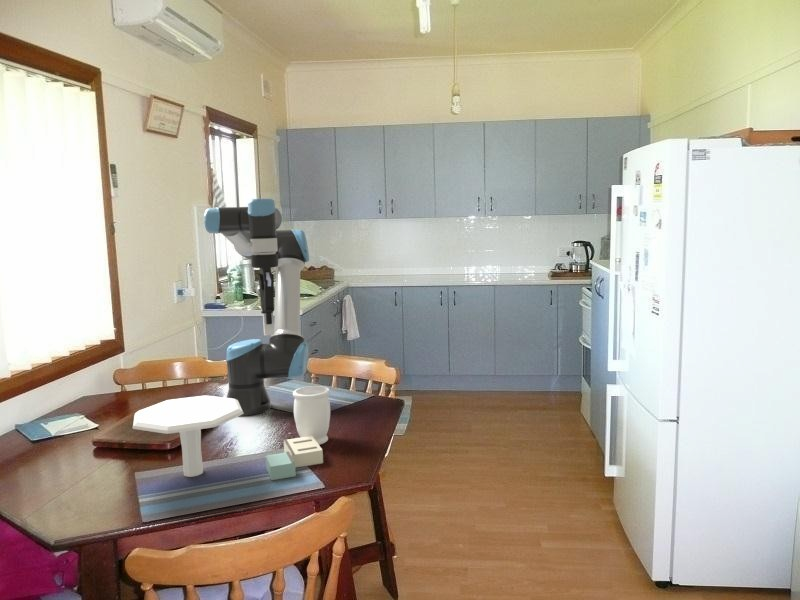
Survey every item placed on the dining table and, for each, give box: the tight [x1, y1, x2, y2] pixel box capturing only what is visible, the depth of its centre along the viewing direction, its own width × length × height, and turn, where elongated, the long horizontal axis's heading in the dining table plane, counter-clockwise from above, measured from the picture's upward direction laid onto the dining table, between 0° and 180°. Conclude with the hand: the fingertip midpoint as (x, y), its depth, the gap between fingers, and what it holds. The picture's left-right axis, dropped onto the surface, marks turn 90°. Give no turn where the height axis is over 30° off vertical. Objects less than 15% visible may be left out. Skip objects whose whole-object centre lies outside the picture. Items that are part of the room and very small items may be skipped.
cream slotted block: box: [283, 436, 324, 469], centre depth 170 cm, size 12×8×4 cm, turn 21°
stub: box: [265, 451, 297, 481], centre depth 161 cm, size 8×6×4 cm
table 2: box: [132, 394, 244, 478], centre depth 161 cm, size 28×28×17 cm
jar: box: [292, 385, 331, 446], centre depth 182 cm, size 11×10×15 cm
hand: (269, 334), depth 185 cm, fingers closed
